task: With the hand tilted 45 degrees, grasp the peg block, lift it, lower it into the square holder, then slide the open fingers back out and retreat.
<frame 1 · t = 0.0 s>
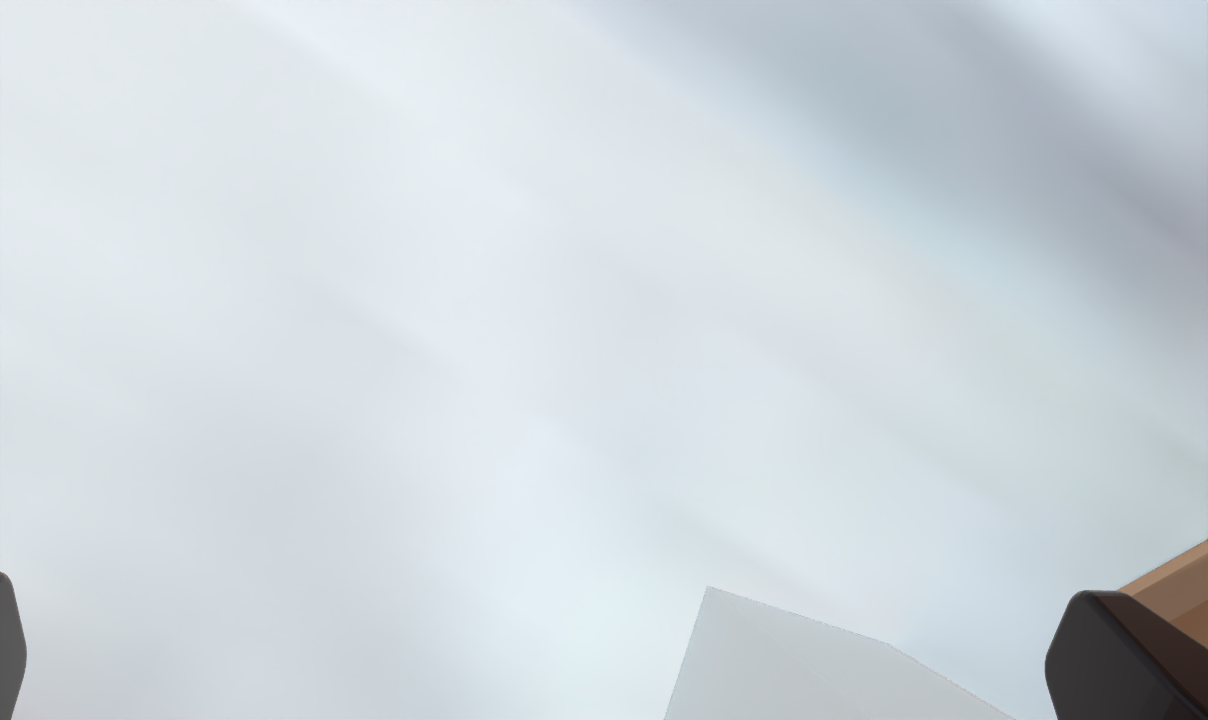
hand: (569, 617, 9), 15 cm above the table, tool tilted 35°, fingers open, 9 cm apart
peg block: (769, 711, 25), on the table
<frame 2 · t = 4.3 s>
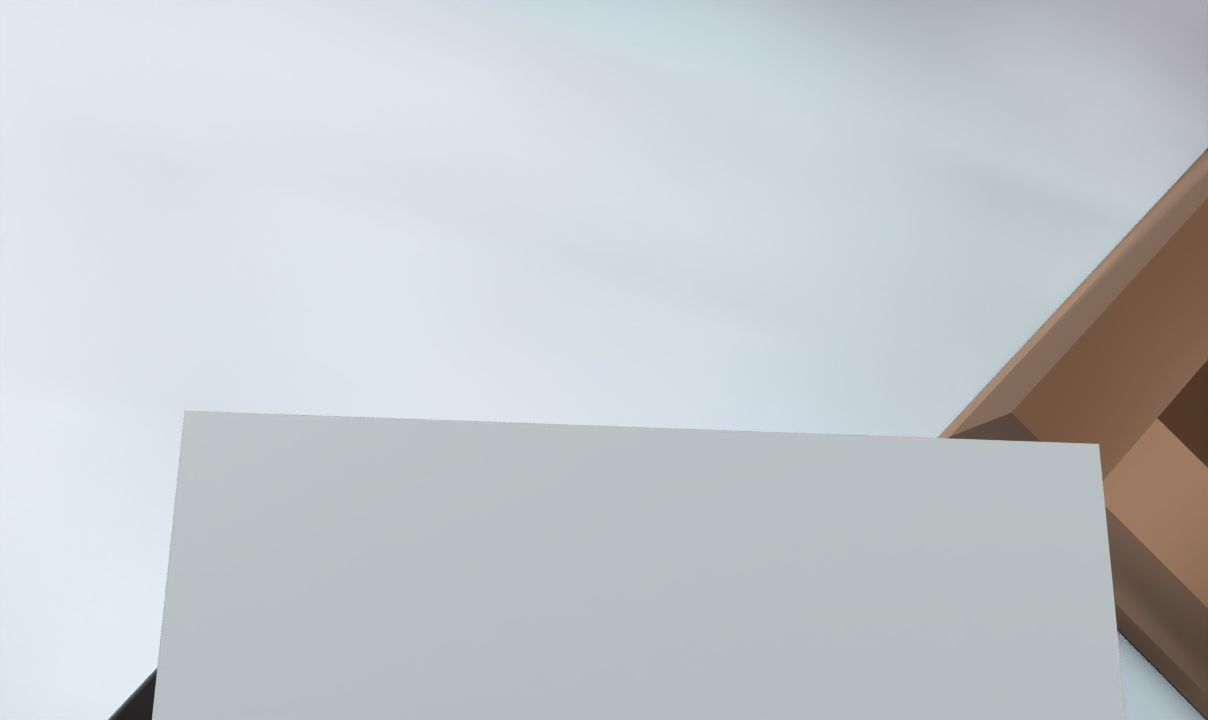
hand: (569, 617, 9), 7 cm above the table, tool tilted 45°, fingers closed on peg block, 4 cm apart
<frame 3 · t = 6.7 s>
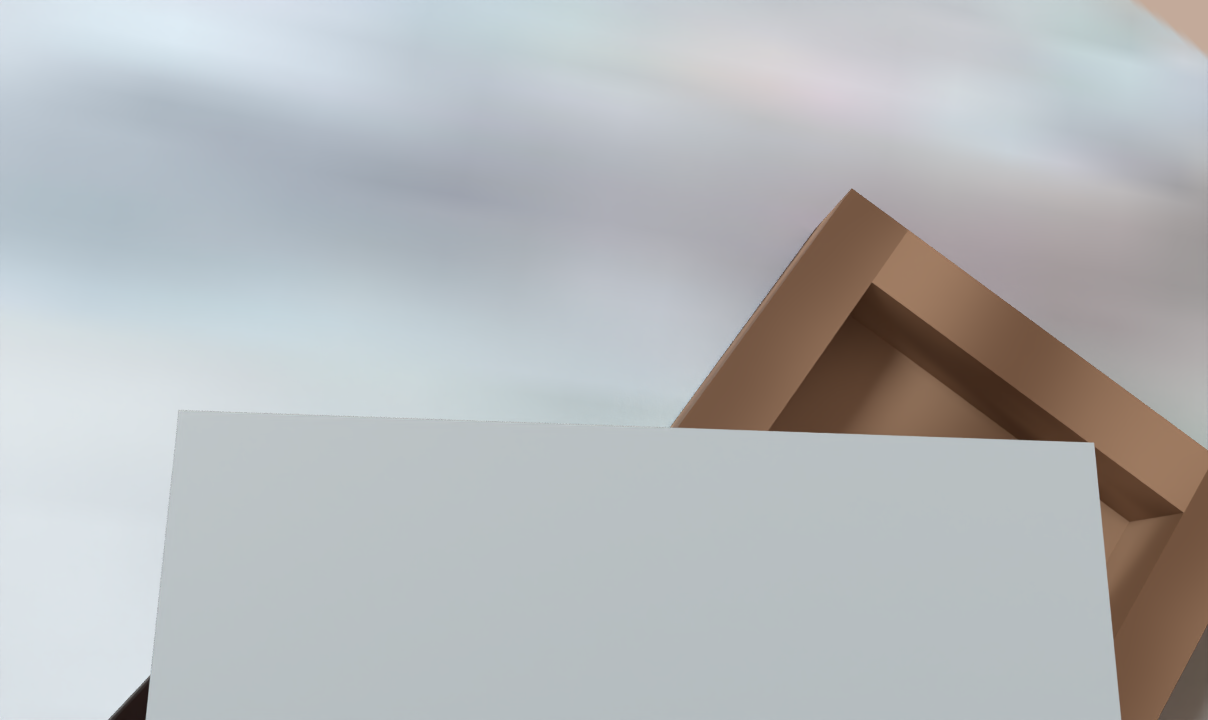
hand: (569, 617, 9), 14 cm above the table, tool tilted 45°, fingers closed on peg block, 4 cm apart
square holder: (882, 560, 24), on the table
when the fingers open (9 cm above the table, at t = 8.9 s): peg block drops 1 cm, resting on square holder.
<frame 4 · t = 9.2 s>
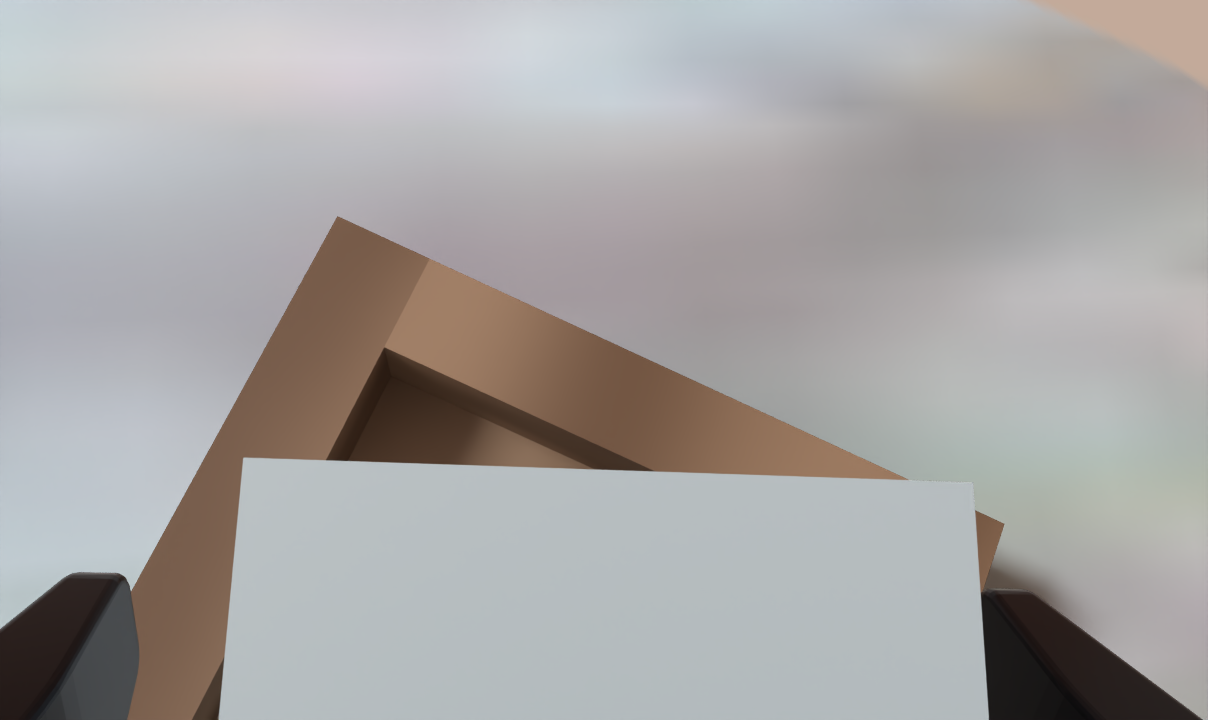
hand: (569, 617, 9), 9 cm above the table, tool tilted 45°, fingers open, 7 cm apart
peg block: (512, 717, 17), point 1 cm above the table, touching square holder
square holder: (510, 713, 17), on the table
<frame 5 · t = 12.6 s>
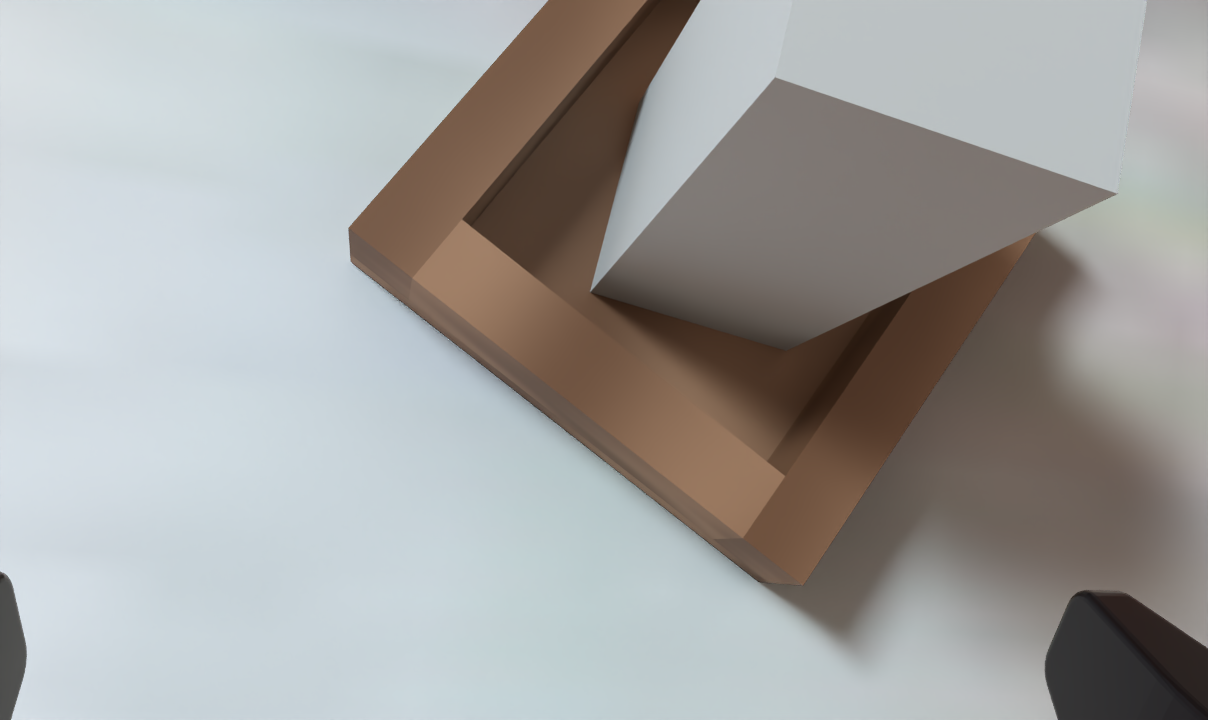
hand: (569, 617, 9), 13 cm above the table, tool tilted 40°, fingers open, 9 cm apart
peg block: (712, 225, 24), point 1 cm above the table, touching square holder
square holder: (704, 232, 25), on the table
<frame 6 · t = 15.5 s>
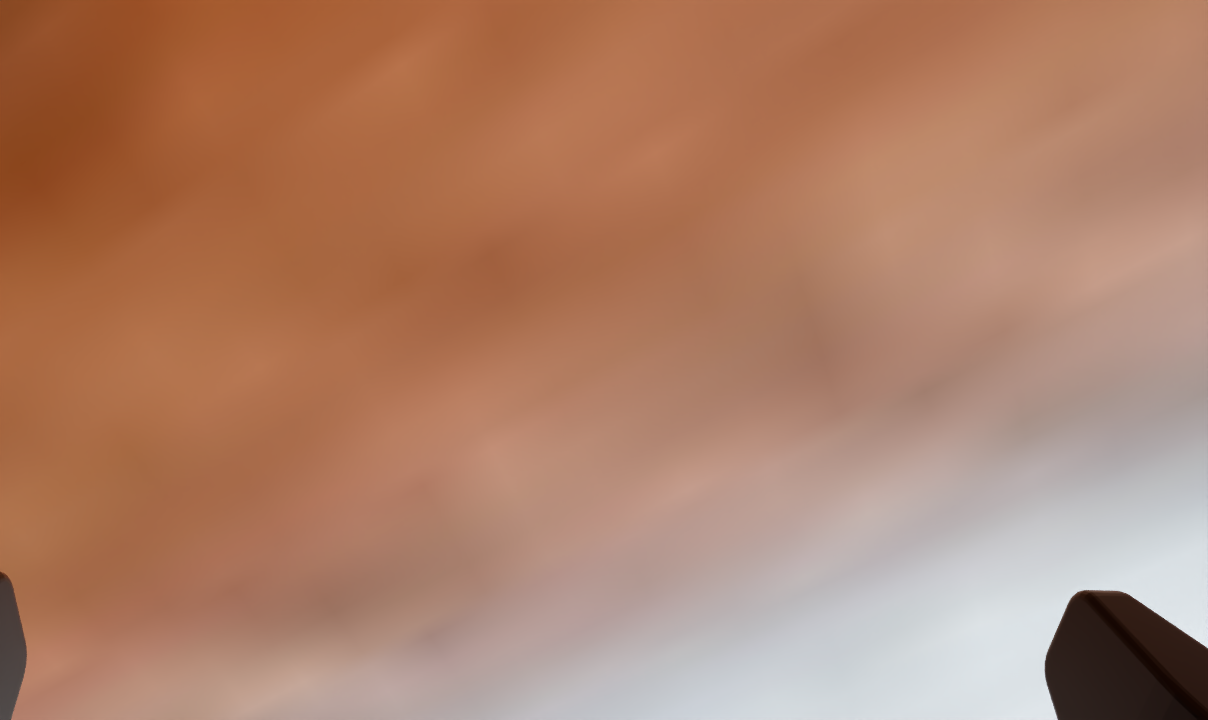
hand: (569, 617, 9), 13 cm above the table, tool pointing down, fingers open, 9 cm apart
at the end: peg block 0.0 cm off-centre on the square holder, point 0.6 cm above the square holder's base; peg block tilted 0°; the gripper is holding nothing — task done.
